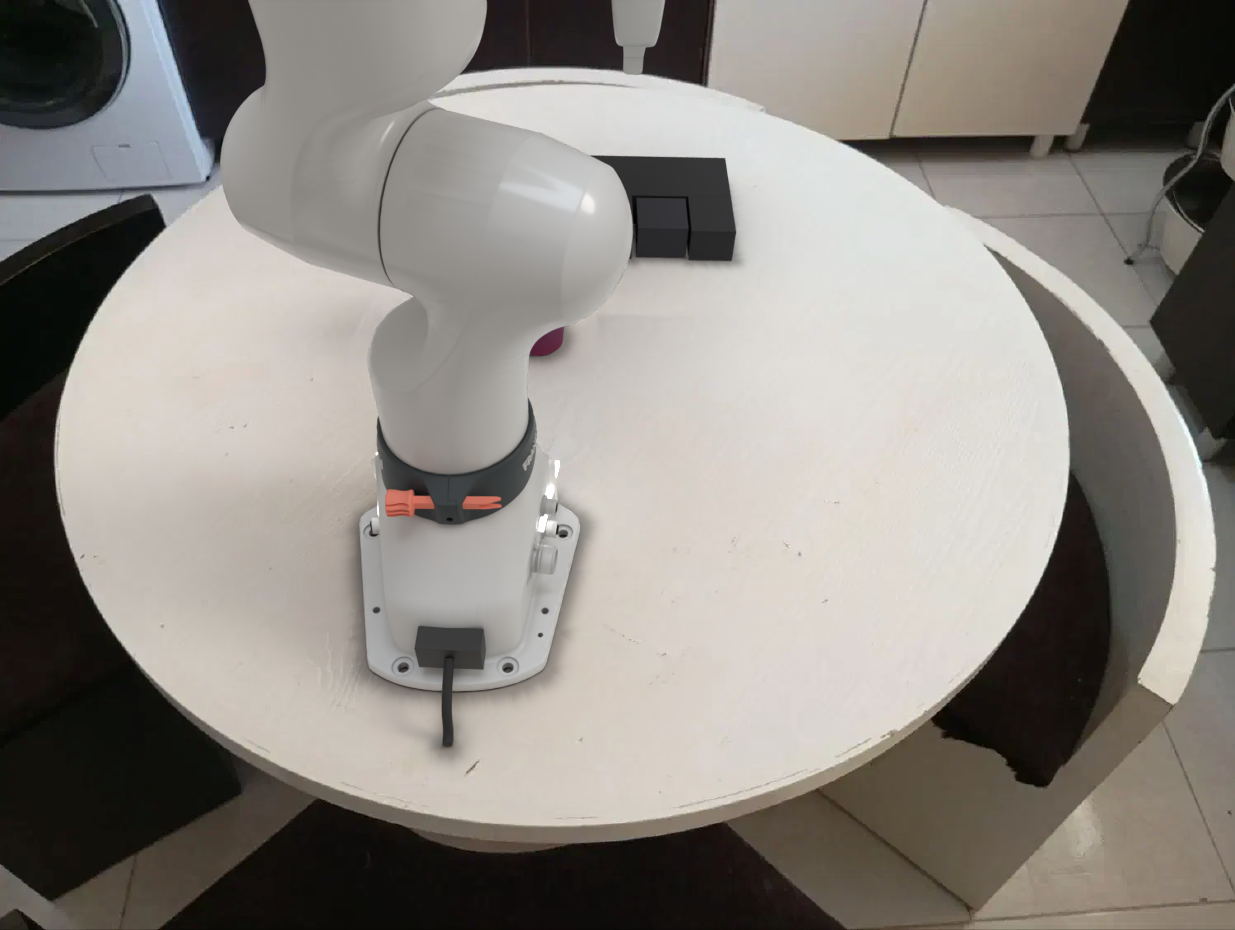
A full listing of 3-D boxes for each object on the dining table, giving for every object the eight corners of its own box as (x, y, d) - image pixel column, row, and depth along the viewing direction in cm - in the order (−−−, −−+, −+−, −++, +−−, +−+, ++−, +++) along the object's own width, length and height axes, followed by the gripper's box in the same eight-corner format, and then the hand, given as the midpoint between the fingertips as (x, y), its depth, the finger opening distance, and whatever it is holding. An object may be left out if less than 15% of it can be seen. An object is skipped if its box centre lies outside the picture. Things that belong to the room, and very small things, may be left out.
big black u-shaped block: (731, 261, 110) (736, 231, 107) (587, 258, 110) (588, 229, 107) (721, 186, 119) (725, 157, 116) (588, 184, 119) (588, 155, 116)
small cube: (685, 258, 110) (688, 228, 107) (636, 257, 110) (637, 228, 107) (682, 227, 114) (685, 198, 111) (634, 227, 114) (636, 197, 111)
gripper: (602, -155, 92) (599, -5, 102) (602, -61, 79) (598, 100, 89) (670, -152, 92) (660, -3, 103) (681, -59, 79) (668, 102, 89)
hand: (631, 46), depth 96 cm, fingers open, 8 cm apart
